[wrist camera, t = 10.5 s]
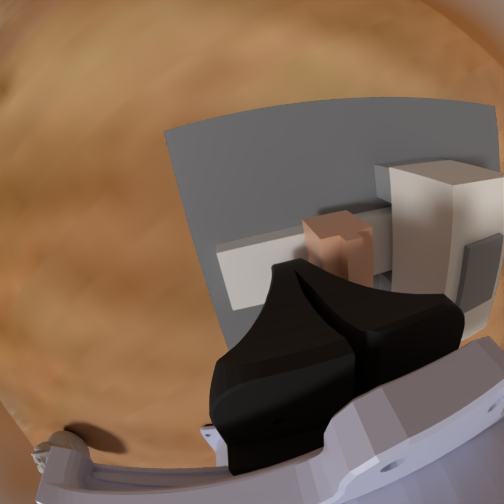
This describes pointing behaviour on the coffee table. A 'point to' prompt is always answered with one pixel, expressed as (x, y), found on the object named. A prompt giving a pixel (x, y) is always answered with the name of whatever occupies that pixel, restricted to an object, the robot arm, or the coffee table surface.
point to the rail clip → (341, 246)
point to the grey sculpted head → (59, 440)
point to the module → (445, 232)
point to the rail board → (305, 181)
